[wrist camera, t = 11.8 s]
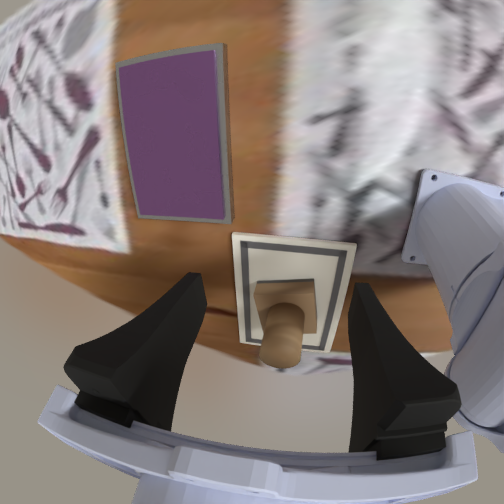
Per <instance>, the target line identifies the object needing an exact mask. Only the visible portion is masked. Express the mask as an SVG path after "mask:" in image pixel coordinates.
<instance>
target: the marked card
mask: <svg viewBox="0 0 504 504" xmlns="http://www.w3.org/2000/svg"><path fill="white" fill-rule="evenodd" d="M232 244H233V258H234V272H235V286H236V299H237V311H238V323H239V335H240V343H245V344H252V345H259V346H261V343H262V339H263V330H262V326H261V323H260V319H259V315H258V311H257V308H256V304H255V300H254V297H253V294H254V290H255V287H256V284H257V281H263V280H290V279H313V278H314V283H315V294H316V306H317V334H303V340H302V349H301V351H310V352H321V353H330V350H331V347H332V343H333V340H334V336H335V333H336V330H337V326H338V322H339V319H340V315H341V311H342V308H343V304H344V300H345V296H346V292H347V288H348V284H349V279H350V275H351V271H352V266H353V262H354V257H355V252H356V248H357V244H356V243H348V242H338V241H328V240H318V239H307V238H297V237H286V236H275V235H263V234H252V233H240V232H233V233H232Z"/></svg>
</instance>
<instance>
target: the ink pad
mask: <svg viewBox="0 0 504 504" xmlns="http://www.w3.org/2000/svg"><path fill="white" fill-rule="evenodd" d="M115 64H116V77H117V89H118V99H119V108H120V116H121V124H122V132H123V138H124V145H125V151H126V158H127V163H128V169H129V175H130V180H131V185H132V190H133V195H134V200H135V205H136V209H137V214H138V218H146V219H163V220H180V221H195V222H210V223H224V224H232V222H233V220H234V218H235V215H234V197H233V179H232V159H231V138H230V115H229V90H228V62H227V44H224V43H216V44H207V45H199V46H192V47H185V48H179V49H173V50H168V51H163V52H158V53H153V54H149V55H144V56H140V57H136V58H132V59H128V60H124V61H121V62H117V63H115Z"/></svg>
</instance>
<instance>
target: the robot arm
mask: <svg viewBox="0 0 504 504" xmlns="http://www.w3.org/2000/svg"><path fill="white" fill-rule="evenodd" d="M432 175H436V177H435V179H431V177H432ZM501 192H502V194H501V195H500V193H501ZM411 256H414V257H413V258H410V257H411ZM401 258H402V261H403V262H405V263H414V264H424V265H428V267H429V269H430V271H431V274H432V276H433V278H434V281H435V283H436V286H437V288H438V290H439V293H440V296H441V298H442V301H443V303H444V306H445V309H446V311H447V314H448V317H449V320H450V323H451V326H452V329H453V334H452V337H451V339H450V342H451V345H452V349H453V352H454V355H455V356H454V357H453V358H452V359H451V361H450V362H449V364H448V365H447V367H446V370H445V373H444V375H443V374H442V373H441V372H439V371H438V370H437V369H436V368H435V367H433V366H432V365H431V364H430V363H429V362H428V361H427V360H426V359H425V358H424V357H422V356H421V355H420V354H419V353H418V352H417V351H416V350H415V349H414V347H413V346H412V345H411V344H410V343H409V342H408V341H407V340H406V338H405V337H404V336H403V335H402V333H401V332H400V331H399V329H398V328H397V327H396V325H395V324H394V323H393V321H392V320H391V318H390V317H389V315H388V314H387V312H386V311H385V309H384V308H383V306H382V305H381V303H380V301H379V300H378V298H377V297H376V295H375V293H374V292H373V290H372V288H371V286H370V285H369V284H368V283H355V287H354V291H353V296H352V300H351V304H350V308H349V312H348V334H349V342H350V350H351V358H352V366H353V376H354V396H353V416H352V428H351V438H350V446H349V453H311V452H291V451H278V450H268V449H259V448H251V447H244V446H237V445H231V444H225V443H219V442H214V441H208V440H204V439H199V438H194V437H190V436H186V435H182V434H178V433H174V432H171V427H172V420H173V414H174V409H175V404H176V399H177V395H178V391H179V386H180V382H181V379H182V375H183V371H184V367H185V364H186V362H187V359H188V356H189V354H190V351H191V349H192V347H193V344H194V342H195V339H196V337H197V334H198V332H199V330H200V327H201V325H202V322H203V318H204V315H205V311H206V307H207V301H206V296H205V292H204V287H203V282H202V277H201V273H191V272H189V273H188V274H187V275H185V276H184V277H183V278H182V279H181V280H180V281H179V282H178V283H177V284H176V285H174V286H173V287H172V288H171V289H170V290H169V291H168V292H167V293H166V294H164V295H163V296H162V297H161V298H160V299H159V300H157V301H156V302H155V303H154V304H153V305H151V306H150V307H149V308H148V309H146V310H145V311H144V312H142V313H141V314H140V315H138V316H137V317H135V318H134V319H132V320H131V321H129V322H128V323H126V324H124V325H122V326H121V327H119V328H117V329H116V330H114V331H112V332H110V333H108V334H106V335H104V336H102V337H100V338H97V339H95V340H92V341H90V342H87V343H84V344H81V345H78V346H76V347H75V348H74V350H73V351H72V353H71V355H70V356H69V358H68V359H67V361H66V363H65V365H64V370H65V373H66V374H67V375H68V377H69V378H70V379H71V380H72V381H73V382H74V384H75V385H76V386H77V387H78V388H79V389H80V392H79V394H78V395H77V394H76V393H75V392H73V391H71V390H69V389H67V388H65V387H63V386H60V385H57V386H56V388H55V389H54V391H53V393H52V395H51V397H50V399H49V400H48V402H47V404H46V406H45V408H44V410H43V411H42V413H41V415H40V417H39V420H38V423H39V424H40V425H41V426H42V427H44V428H45V429H46V430H48V431H49V432H50V433H52V434H53V435H54V436H56V437H57V438H59V439H60V440H61V441H63V442H64V443H66V444H68V445H69V446H71V447H73V448H75V449H77V450H79V451H80V452H82V453H84V454H86V455H88V456H90V457H92V458H94V459H96V460H98V461H100V462H102V463H104V464H106V465H108V466H110V467H112V468H115V469H117V470H119V471H121V472H124V473H126V474H128V475H131V476H133V477H136V478H138V479H140V480H139V483H138V486H137V488H136V491H135V494H134V497H133V500H132V503H131V504H403V503H407V502H412V501H417V500H422V499H426V498H430V497H434V496H438V495H441V494H445V493H448V492H451V491H453V490H456V489H458V488H460V487H463V486H465V485H467V484H469V483H472V482H474V481H476V480H477V479H478V472H477V462H476V453H475V447H474V439H473V433H476V434H479V435H482V436H484V437H486V438H488V439H489V440H490V441H492V443H493V444H494V445H495V446H496V447H497V448H498V449H499V451H500V452H501V453H504V187H501V186H497V185H494V184H490V183H487V182H483V181H479V180H475V179H471V178H467V177H463V176H459V175H455V174H450V173H446V172H441V171H437V170H432V169H425V170H423V171H422V173H421V177H420V182H419V187H418V192H417V197H416V201H415V205H414V210H413V214H412V218H411V222H410V225H409V229H408V233H407V237H406V240H405V244H404V247H403V251H402V254H401ZM451 417H453V418H454V419H455V420H456V421H457V423H458V424H460V425H461V426H462V427H463V428H465V429H466V430H468V431H466V432H462V433H457V434H453V435H450V436H447V437H446V438H445V433H444V432H445V431H446V430H447V423H446V422H447V421H448V420H449V419H450V418H451ZM472 432H473V433H472Z"/></svg>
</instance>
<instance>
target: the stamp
mask: <svg viewBox="0 0 504 504" xmlns="http://www.w3.org/2000/svg"><path fill="white" fill-rule="evenodd" d="M253 297H254V300H255V304H256V308H257V311H258V315H259V319H260V323H261V326H262V330H263V339H262V343H261V347H260V352H259V357H260V359H261V360H262V361H263V362H264V363H265V364H267V365H269V366H272V367H275V368H290V367H293V366H296V365H297V364H298V363H299V362H300V358H301V349H302V340H303V334H317V306H316V294H315V283H314V278H313V279H290V280H263V281H257V284H256V287H255V290H254V294H253Z"/></svg>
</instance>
